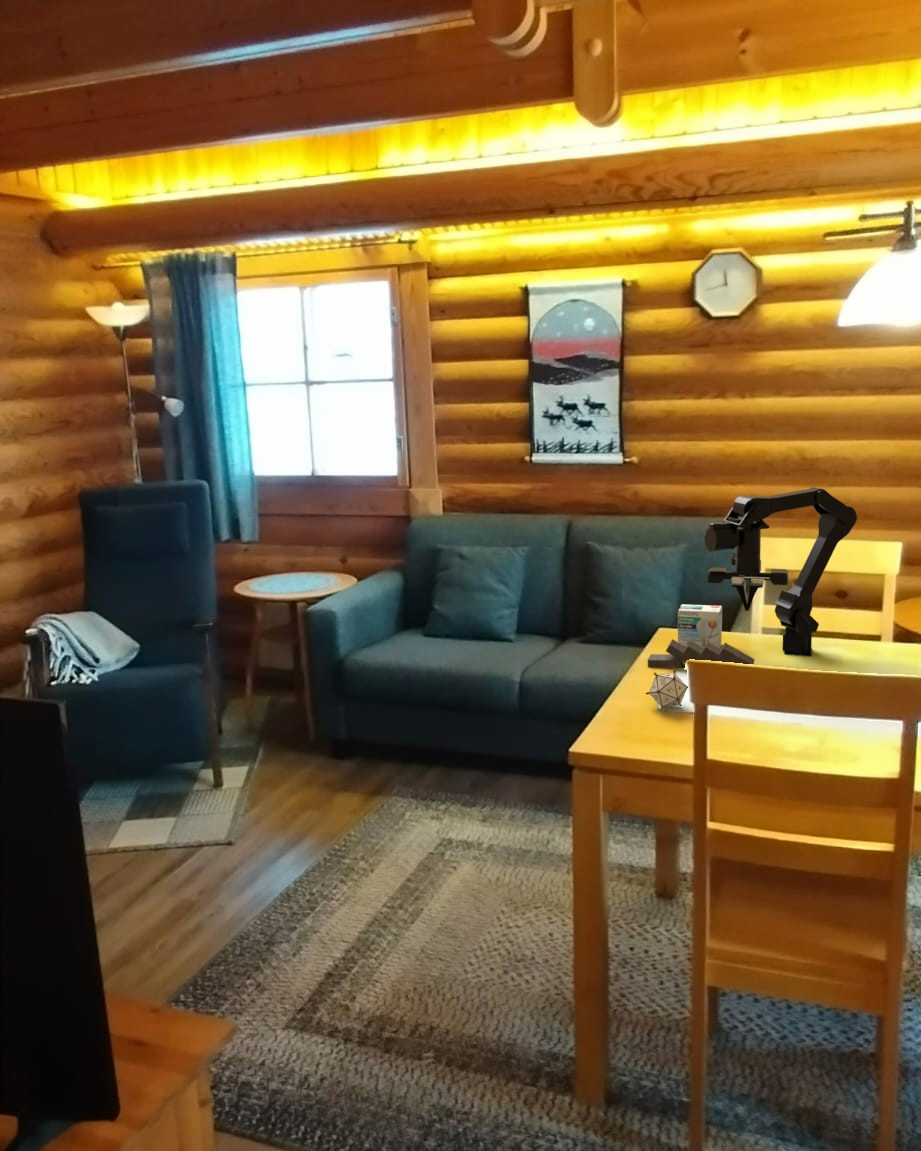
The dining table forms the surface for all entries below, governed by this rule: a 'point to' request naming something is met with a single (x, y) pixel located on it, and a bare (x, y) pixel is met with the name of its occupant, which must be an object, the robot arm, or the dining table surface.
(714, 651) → the domino
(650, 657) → the domino
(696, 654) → the domino
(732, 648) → the domino
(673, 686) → the game die
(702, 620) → the light bulb box
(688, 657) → the domino
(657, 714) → the dining table surface
